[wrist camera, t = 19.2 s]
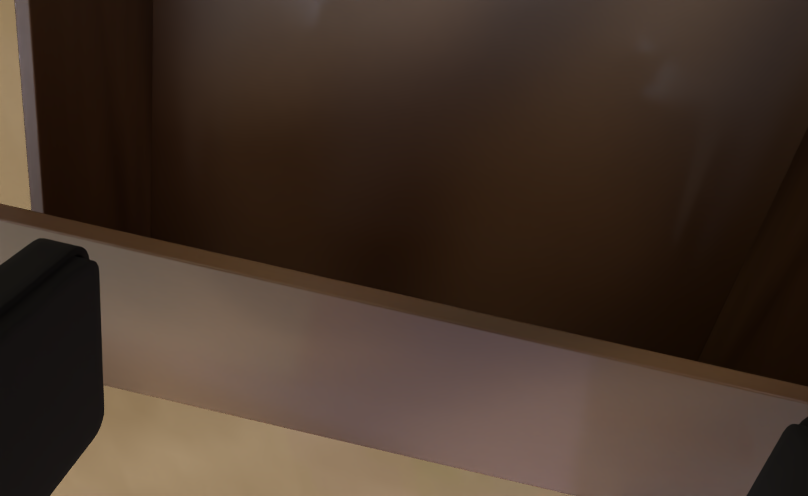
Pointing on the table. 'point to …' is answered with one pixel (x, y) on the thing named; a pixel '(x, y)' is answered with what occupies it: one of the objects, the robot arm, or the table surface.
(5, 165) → the table surface
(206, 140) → the wooden box
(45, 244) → the robot arm
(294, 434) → the table surface
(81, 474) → the table surface
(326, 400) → the flap
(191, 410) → the table surface
